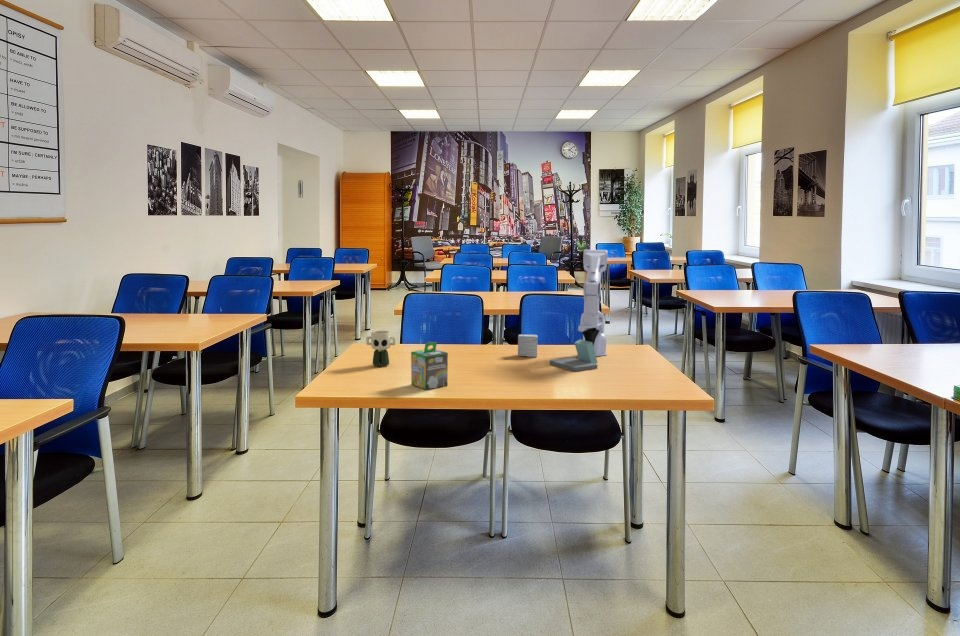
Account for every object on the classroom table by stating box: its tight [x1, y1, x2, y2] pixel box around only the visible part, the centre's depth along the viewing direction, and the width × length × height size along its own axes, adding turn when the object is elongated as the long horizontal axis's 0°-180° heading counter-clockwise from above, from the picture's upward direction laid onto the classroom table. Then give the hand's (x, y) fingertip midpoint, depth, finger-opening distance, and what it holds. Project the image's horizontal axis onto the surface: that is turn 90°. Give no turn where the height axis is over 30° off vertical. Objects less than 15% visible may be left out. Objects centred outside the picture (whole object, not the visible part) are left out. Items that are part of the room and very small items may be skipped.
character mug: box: [365, 329, 396, 367], centre depth 241 cm, size 11×7×13 cm, turn 94°
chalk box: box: [410, 341, 449, 391], centre depth 212 cm, size 9×9×15 cm
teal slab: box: [574, 338, 598, 364], centre depth 248 cm, size 3×7×9 cm, turn 31°
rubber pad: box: [549, 357, 598, 373], centre depth 246 cm, size 11×15×2 cm
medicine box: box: [517, 334, 538, 358], centre depth 263 cm, size 8×4×9 cm, turn 84°
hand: (589, 347), depth 249 cm, fingers closed
